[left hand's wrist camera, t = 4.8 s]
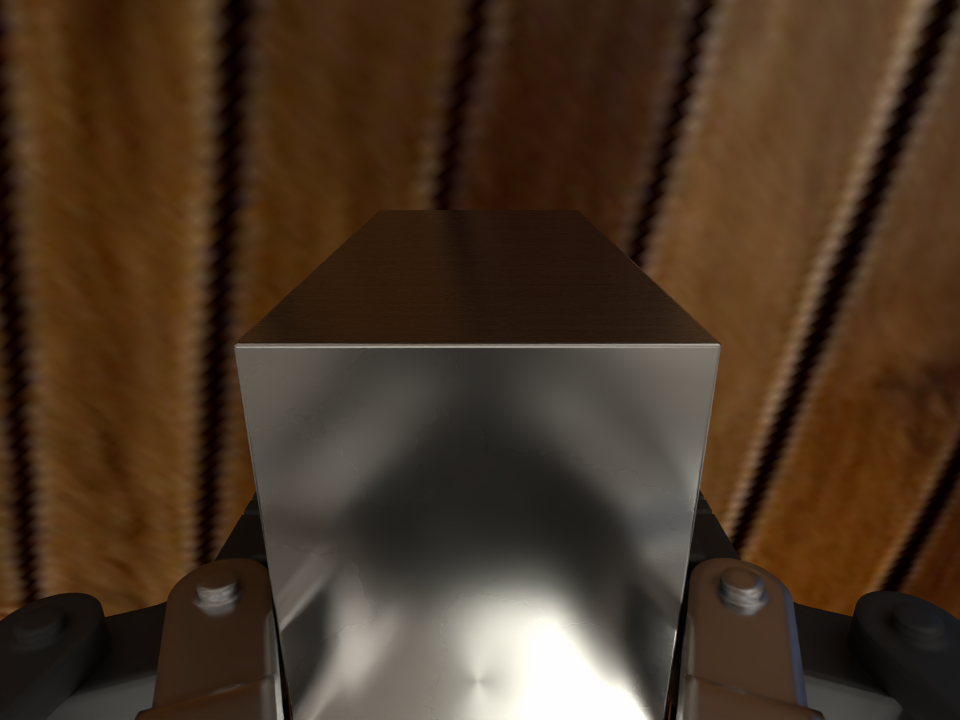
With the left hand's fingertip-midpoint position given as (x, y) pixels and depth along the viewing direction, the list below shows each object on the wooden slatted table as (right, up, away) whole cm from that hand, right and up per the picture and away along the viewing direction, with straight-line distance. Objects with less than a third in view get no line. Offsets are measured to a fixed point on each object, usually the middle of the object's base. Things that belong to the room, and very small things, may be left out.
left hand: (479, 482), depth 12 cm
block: (0, +2, +5) cm, 5 cm away
